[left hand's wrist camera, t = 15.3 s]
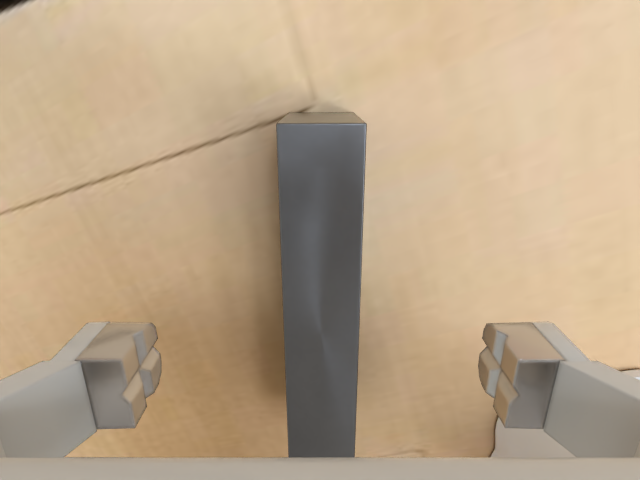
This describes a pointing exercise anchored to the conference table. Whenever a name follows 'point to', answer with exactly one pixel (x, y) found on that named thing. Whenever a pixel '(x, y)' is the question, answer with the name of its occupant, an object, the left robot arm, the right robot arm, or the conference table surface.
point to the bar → (321, 276)
